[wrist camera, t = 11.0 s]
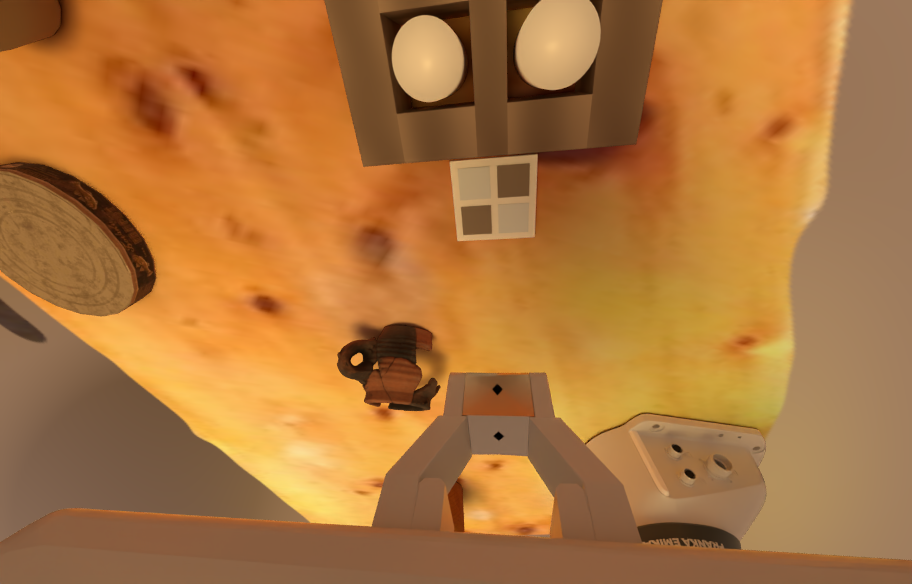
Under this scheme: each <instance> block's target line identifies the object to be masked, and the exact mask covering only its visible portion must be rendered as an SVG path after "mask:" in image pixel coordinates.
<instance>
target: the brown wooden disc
mask: <svg viewBox="0 0 912 584" xmlns="http://www.w3.org/2000/svg"><path fill="white" fill-rule="evenodd" d="M0 270H1V271H2V272H3V273H4V274H5V275H6V276H8V277H9V278H10V279H12V280H13V281H15V282H16V283H18V284H19V285H21V286H22V287H23V288H25V289H26V290H28V291H29V292H31V293H32V294H34V295H36V296H38V297H40V298H42V299H44V300H46V301H48V302H50V303H52V304H54V305H56V306H59V307H62V308H64V309H67V310H70V311H73V312H76V313H79V314H86V315H94V316H107V315H112V314H118V313H120V312H121V311H123V310H125V309H126V308H128V307H129V306H131V305H133V304H134V303H136V302H137V301H139V300H141V299H142V298H143V297H145V296H146V295H147V294H149V293H150V292H151V291H152V288H153V285H154V283H155V280H156V272H155V264H154V259H153V257H152V255H151V253H150V251H149V248H148V246H147V244H146V242H145V240H144V238H143V237H142V236H141V234H140V233H139V232H138V231H137V229H136V228H135V227H134V225H133V224H132V223H131V222H130V220H129V219H128V218H127V217H126V215H124V214H123V213H122V212H121V211H120V210H119V209H118V208H117V207H116V206H114V205H113V204H112V203H111V202H110V201H109V200H108V199H107V198H105V197H104V196H103V195H102V194H101V193H99V192H98V191H96V190H94V189H93V188H91V187H90V186H88V185H86V184H85V183H83V182H82V181H80V180H78V179H77V178H75V177H74V176H71V175H69V174H66V173H64V172H61V171H58V170H56V169H53V168H51V167H48V166H45V165H40V164H31V163H22V162H17V163H11V164H5V165H0Z"/></svg>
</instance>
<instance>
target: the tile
mask: <svg viewBox="0 0 912 584" xmlns="http://www.w3.org/2000/svg"><path fill="white" fill-rule="evenodd" d="M537 162H538V154H525V155H513V156H501V157H488V158H476V159H464V160H452V161H450V171H451V181H452V191H453V201H454V211H455V221H456V231H457V241H471V240H491V239H511V238H531V237H535V217H536V190H537Z"/></svg>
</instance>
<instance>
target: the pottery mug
mask: <svg viewBox="0 0 912 584" xmlns="http://www.w3.org/2000/svg"><path fill="white" fill-rule="evenodd" d="M416 349H424V350H427V351H430V350H431V349H432V333H431V332H428V331H427V330H423V329H419V328H415V327H410V326H406V325H392V326H386V327H384V329H383V331H382V333H381V334H380V336H379V338H378V339H377V340H376V339H375V337H373V338H371V339H368V340H356V341H353V342H350V343H349V344H347V345H345V346H344V347H343V348H342V349H341V351H340V352H339V353H338V358H339V359H338V363H337V366H338V369H339V371H340V372H341V374H342V375H344V376H345V377H347V378H350V379H355V380H358V381H359V382H360V383H361V384H363V388H364V390H365V391H366V397H365V399H364V402H365V403H367V404H370V405H374V406H377V407H379V406H380V405H381V403H390V404H389V406H388V408H389V409H394V410H404V411H424V410H430V401H431V399H432V398H433V397H434V396H435V395H436V394H437V393H438V391H439V389H440V385H438V386H437V381H436V380H435V378H431V379H430V380H429V382H428V384H426V385H425V386H424V387H422V388H420V389H417V390H415V389H416V388H417V385H418V384H419V382H420V380H421V378H422V371H421V369H420V368H419V367H418V366H417V365H416ZM357 353H362V355H363V361H362V363H360V364H359V365H357V366H354V365H352V364H351V358H352V356H354V355H355V354H357ZM377 361H378V365H379V369H374V370H373V365H374V364H375V363H376V362H377ZM436 386H437V387H436Z"/></svg>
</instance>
